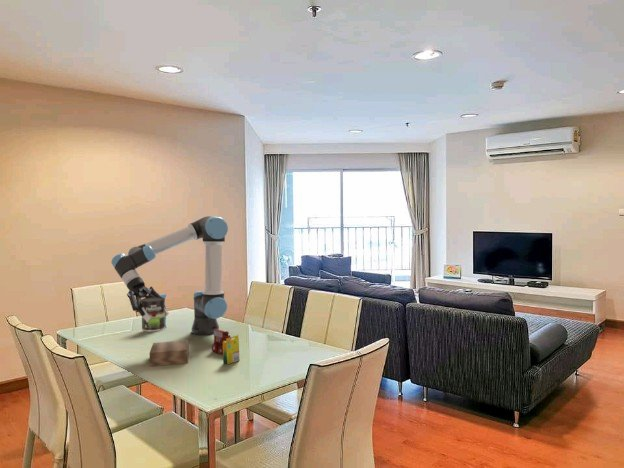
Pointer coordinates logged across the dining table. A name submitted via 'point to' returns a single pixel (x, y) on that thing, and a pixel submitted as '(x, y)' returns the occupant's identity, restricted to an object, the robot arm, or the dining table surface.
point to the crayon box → (231, 350)
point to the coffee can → (154, 314)
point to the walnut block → (169, 353)
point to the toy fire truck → (219, 340)
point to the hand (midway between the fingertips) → (158, 317)
